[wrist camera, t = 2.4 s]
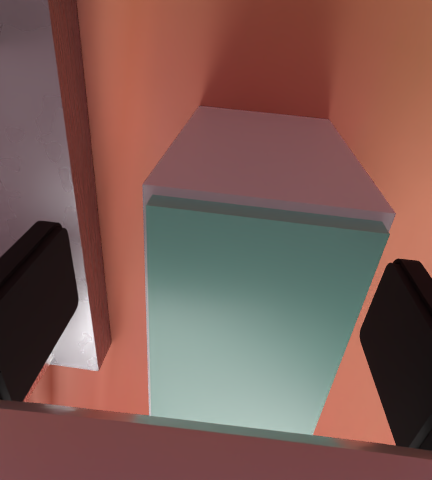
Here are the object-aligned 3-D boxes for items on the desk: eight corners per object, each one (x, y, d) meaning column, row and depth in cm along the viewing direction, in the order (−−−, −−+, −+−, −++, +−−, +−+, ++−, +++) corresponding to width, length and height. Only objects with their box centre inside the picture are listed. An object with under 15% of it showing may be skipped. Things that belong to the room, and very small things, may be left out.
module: (329, 119, 14) (405, 226, 7) (289, 283, 18) (310, 459, 11) (199, 105, 14) (135, 194, 7) (190, 270, 18) (144, 435, 11)
